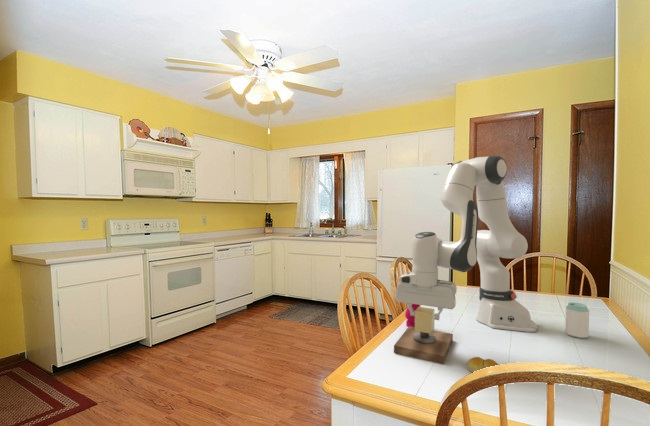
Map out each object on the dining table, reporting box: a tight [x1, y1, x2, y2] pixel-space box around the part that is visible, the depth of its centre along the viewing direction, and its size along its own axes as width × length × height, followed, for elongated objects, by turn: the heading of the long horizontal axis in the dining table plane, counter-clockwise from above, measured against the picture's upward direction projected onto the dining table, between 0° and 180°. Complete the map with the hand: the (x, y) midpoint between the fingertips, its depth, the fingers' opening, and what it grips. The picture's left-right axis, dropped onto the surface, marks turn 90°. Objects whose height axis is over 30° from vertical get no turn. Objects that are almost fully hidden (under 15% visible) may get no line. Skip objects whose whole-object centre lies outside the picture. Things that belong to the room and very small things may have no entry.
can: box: [564, 301, 590, 340], centre depth 124 cm, size 7×7×12 cm
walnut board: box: [393, 326, 454, 365], centre depth 114 cm, size 16×20×10 cm
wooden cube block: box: [415, 306, 435, 334], centre depth 114 cm, size 6×6×7 cm
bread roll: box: [466, 356, 499, 373], centre depth 97 cm, size 8×9×4 cm
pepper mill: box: [404, 304, 421, 328], centre depth 134 cm, size 7×7×20 cm
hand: (424, 317), depth 114 cm, fingers open, 7 cm apart
